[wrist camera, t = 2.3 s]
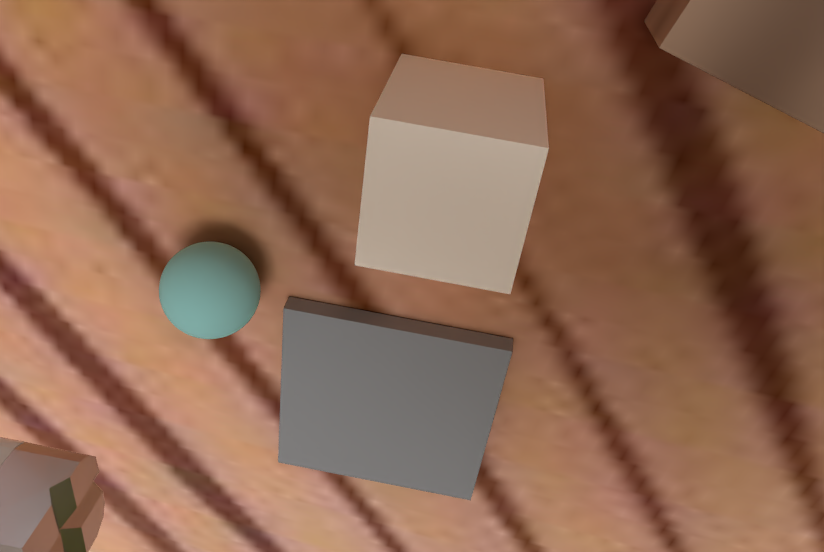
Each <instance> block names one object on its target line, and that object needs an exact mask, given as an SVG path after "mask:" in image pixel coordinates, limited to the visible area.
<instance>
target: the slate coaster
mask: <svg viewBox="0 0 824 552" xmlns="http://www.w3.org/2000/svg"><path fill="white" fill-rule="evenodd" d="M512 352H513V339H512V338H507V337H501V336H496V335H491V334H486V333H480V332H475V331H470V330H464V329H459V328H454V327H448V326H443V325H438V324H433V323H427V322H422V321H417V320H411V319H406V318H401V317H395V316H390V315H385V314H380V313H374V312H369V311H364V310H358V309H353V308H348V307H342V306H337V305H332V304H327V303H321V302H316V301H311V300H305V299H300V298H295V297H289V298H288V300H287V302H286V304H285V306H284V312H283V340H282V369H281V397H280V426H279V454H278V462H279V463H285V464H290V465H295V466H300V467H305V468H310V469H315V470H320V471H325V472H330V473H335V474H340V475H345V476H350V477H355V478H361V479H366V480H371V481H376V482H381V483H386V484H391V485H396V486H401V487H406V488H411V489H416V490H421V491H426V492H431V493H437V494H442V495H447V496H452V497H457V498H462V499H467V500H471V497H472V493H473V490H474V486H475V483H476V479H477V475H478V472H479V468H480V465H481V461H482V458H483V454H484V451H485V447H486V444H487V440H488V437H489V433H490V430H491V426H492V422H493V419H494V415H495V412H496V408H497V405H498V401H499V398H500V394H501V391H502V387H503V384H504V380H505V377H506V373H507V370H508V366H509V362H510V359H511V355H512Z"/></svg>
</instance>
